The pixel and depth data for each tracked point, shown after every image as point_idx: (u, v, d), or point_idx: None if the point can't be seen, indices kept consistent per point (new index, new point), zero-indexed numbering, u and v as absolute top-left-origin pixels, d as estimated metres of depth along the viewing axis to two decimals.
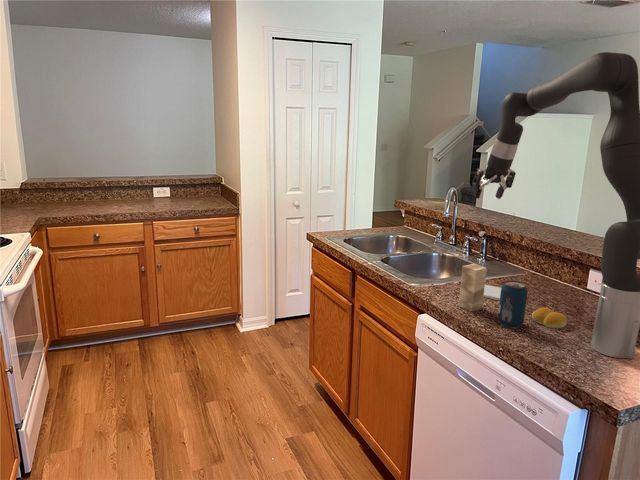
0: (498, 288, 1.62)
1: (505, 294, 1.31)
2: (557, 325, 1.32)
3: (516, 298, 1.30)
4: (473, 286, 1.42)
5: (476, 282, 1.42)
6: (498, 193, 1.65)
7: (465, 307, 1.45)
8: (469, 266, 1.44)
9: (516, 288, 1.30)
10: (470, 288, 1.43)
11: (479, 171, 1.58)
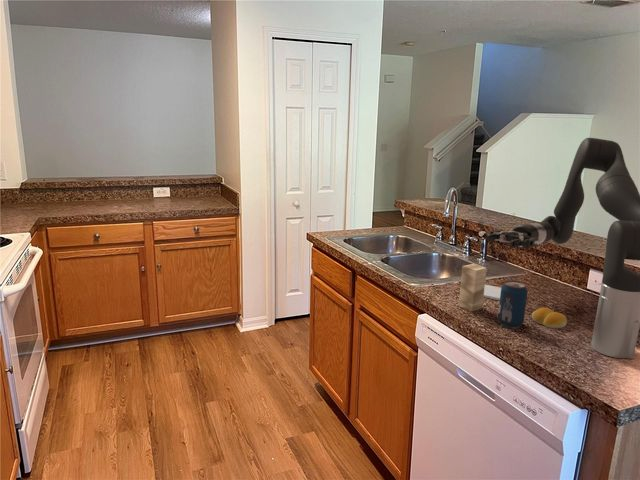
0: (498, 288, 1.62)
1: (505, 294, 1.31)
2: (557, 325, 1.32)
3: (516, 298, 1.30)
4: (473, 286, 1.42)
5: (476, 282, 1.42)
6: None
7: (465, 307, 1.45)
8: (469, 266, 1.44)
9: (516, 288, 1.30)
10: (470, 288, 1.43)
11: None
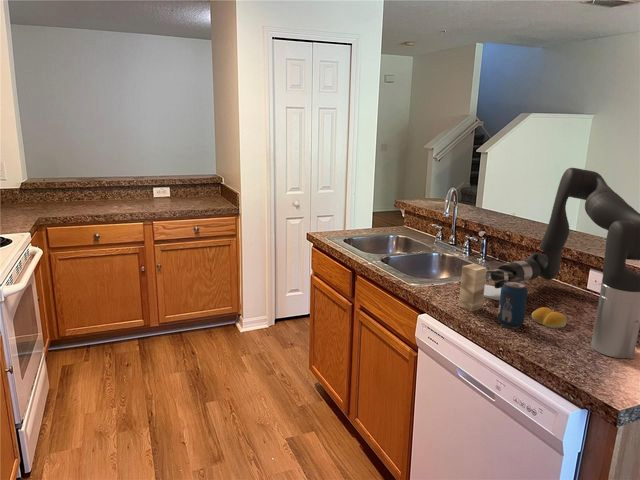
0: (498, 288, 1.62)
1: (504, 294, 1.31)
2: (557, 325, 1.32)
3: (516, 298, 1.30)
4: (473, 286, 1.42)
5: (476, 282, 1.42)
6: None
7: (465, 307, 1.45)
8: (469, 266, 1.44)
9: (516, 288, 1.30)
10: (470, 288, 1.43)
11: None
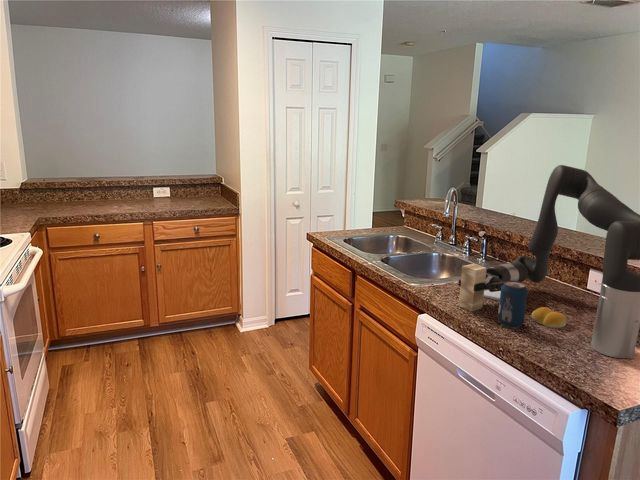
0: None
1: (505, 294, 1.31)
2: (557, 325, 1.32)
3: (516, 298, 1.30)
4: (473, 286, 1.42)
5: (476, 282, 1.42)
6: None
7: (465, 307, 1.45)
8: (469, 266, 1.44)
9: (516, 288, 1.30)
10: (470, 288, 1.43)
11: None
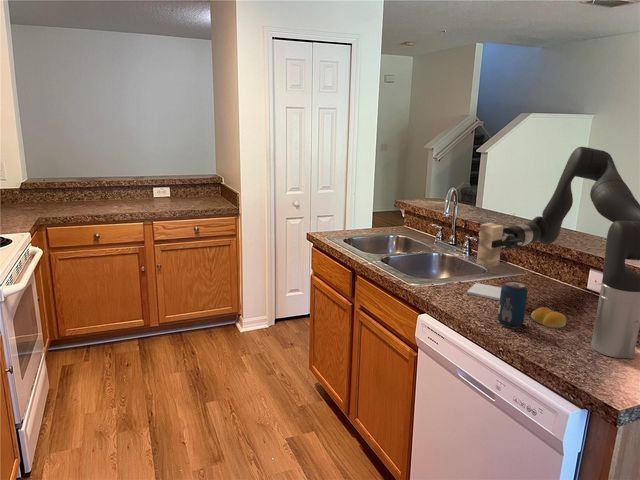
0: (498, 288, 1.62)
1: (504, 294, 1.31)
2: (557, 325, 1.32)
3: (516, 298, 1.30)
4: (491, 243, 1.50)
5: (493, 239, 1.50)
6: None
7: (483, 263, 1.54)
8: (487, 224, 1.53)
9: (516, 288, 1.30)
10: (488, 245, 1.51)
11: None
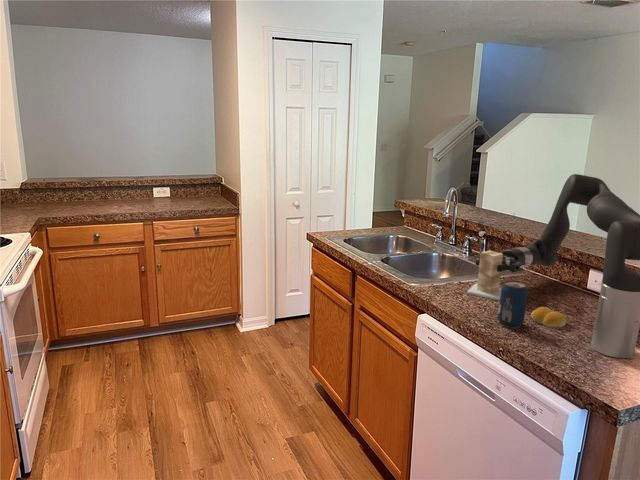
0: None
1: (505, 294, 1.31)
2: (556, 324, 1.33)
3: (516, 298, 1.30)
4: (491, 270, 1.55)
5: (493, 267, 1.55)
6: None
7: (483, 290, 1.58)
8: (487, 252, 1.57)
9: (516, 288, 1.30)
10: (488, 272, 1.56)
11: None
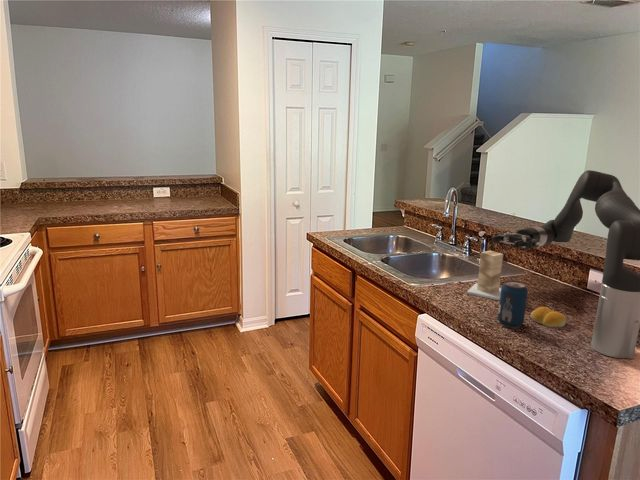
0: None
1: (505, 294, 1.31)
2: (556, 324, 1.33)
3: (516, 298, 1.30)
4: (491, 270, 1.55)
5: (493, 267, 1.55)
6: None
7: (483, 290, 1.58)
8: (487, 252, 1.57)
9: (516, 288, 1.30)
10: (488, 272, 1.56)
11: None
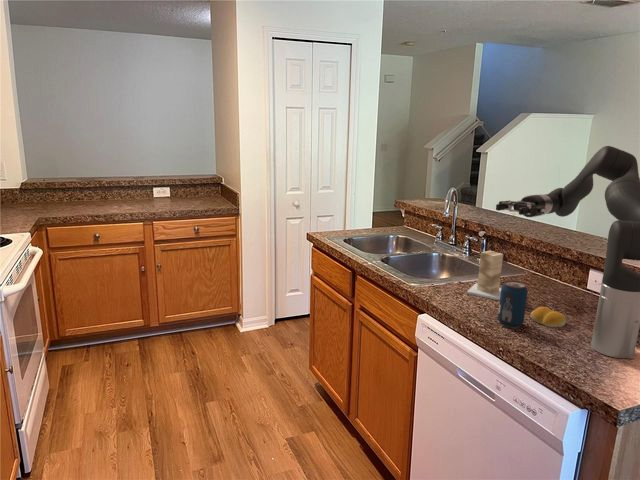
0: None
1: (505, 294, 1.31)
2: (556, 324, 1.33)
3: (516, 298, 1.30)
4: (491, 270, 1.55)
5: (493, 267, 1.55)
6: None
7: (483, 290, 1.58)
8: (487, 252, 1.57)
9: (516, 288, 1.30)
10: (488, 272, 1.56)
11: None
